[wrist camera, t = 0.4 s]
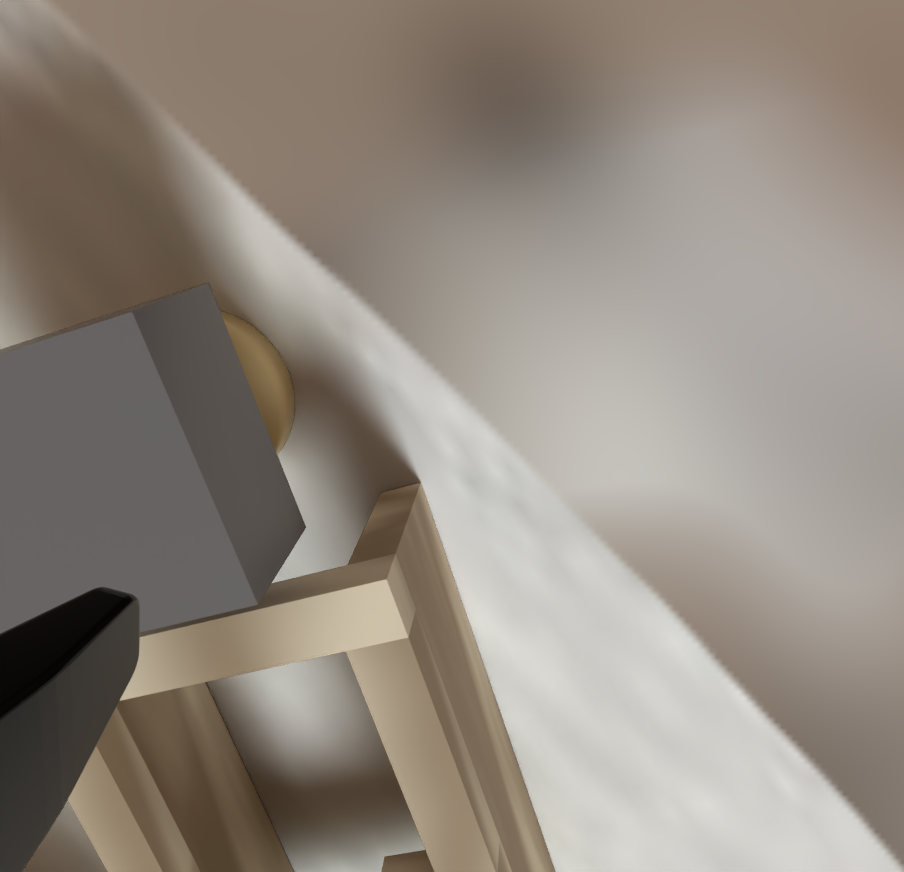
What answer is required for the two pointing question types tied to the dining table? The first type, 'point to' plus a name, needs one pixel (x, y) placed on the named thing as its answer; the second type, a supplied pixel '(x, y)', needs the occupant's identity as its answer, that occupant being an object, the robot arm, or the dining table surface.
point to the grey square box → (145, 463)
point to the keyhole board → (384, 688)
